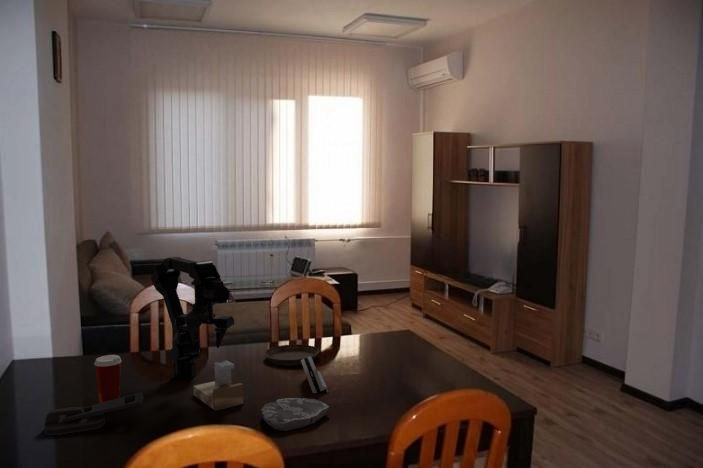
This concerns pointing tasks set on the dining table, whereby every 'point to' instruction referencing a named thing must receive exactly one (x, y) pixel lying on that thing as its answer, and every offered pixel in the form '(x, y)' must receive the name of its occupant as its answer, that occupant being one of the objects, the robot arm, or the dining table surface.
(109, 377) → the paper cup
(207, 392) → the block
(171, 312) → the robot arm
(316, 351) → the plant saucer
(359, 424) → the dining table surface
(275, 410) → the brain slice
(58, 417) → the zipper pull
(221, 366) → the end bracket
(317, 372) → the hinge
